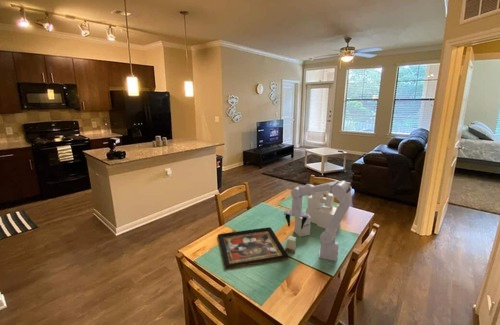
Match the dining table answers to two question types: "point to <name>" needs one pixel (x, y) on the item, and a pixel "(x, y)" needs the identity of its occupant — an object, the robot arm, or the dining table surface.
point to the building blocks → (321, 208)
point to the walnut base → (290, 249)
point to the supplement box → (306, 226)
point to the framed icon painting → (250, 247)
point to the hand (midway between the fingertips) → (295, 227)
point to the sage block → (291, 242)
